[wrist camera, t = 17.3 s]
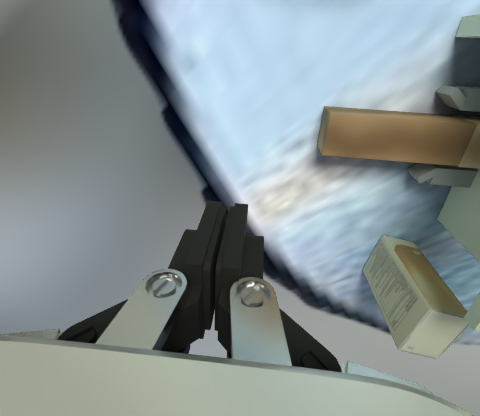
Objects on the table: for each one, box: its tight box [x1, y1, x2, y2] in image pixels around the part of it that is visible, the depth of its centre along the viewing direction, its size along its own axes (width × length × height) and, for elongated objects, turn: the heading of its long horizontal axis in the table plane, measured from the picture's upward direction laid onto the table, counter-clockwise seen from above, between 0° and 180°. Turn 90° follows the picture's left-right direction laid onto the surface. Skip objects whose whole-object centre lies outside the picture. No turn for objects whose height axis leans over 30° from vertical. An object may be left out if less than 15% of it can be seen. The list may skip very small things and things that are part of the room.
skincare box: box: [363, 235, 469, 359], centre depth 32 cm, size 6×4×12 cm
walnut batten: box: [317, 106, 480, 169], centre depth 28 cm, size 4×15×4 cm, turn 87°
